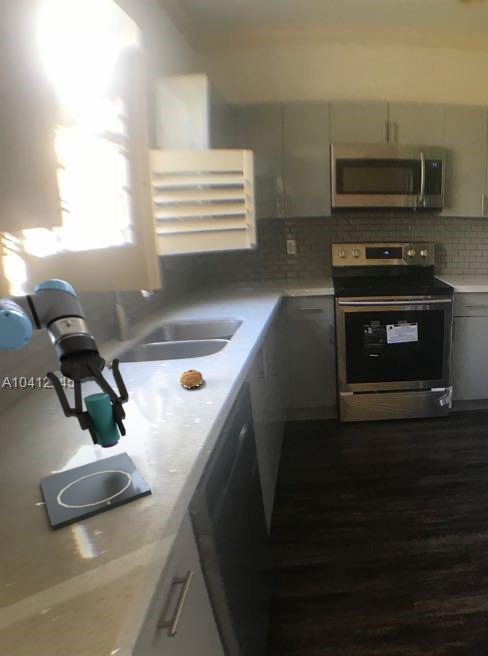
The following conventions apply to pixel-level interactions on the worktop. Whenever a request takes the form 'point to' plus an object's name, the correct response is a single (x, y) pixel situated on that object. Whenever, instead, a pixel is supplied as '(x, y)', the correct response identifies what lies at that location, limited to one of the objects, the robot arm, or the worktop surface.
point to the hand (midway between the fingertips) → (109, 437)
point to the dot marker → (102, 419)
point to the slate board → (92, 489)
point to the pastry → (191, 378)
